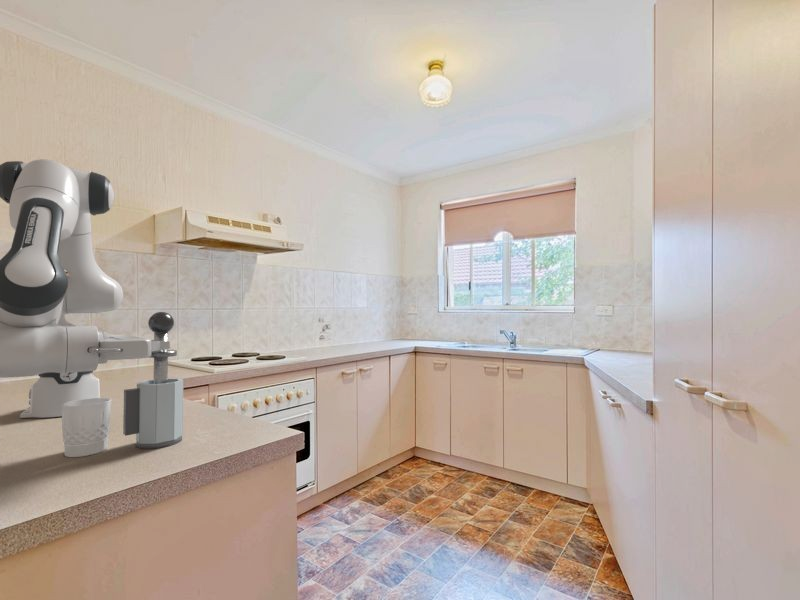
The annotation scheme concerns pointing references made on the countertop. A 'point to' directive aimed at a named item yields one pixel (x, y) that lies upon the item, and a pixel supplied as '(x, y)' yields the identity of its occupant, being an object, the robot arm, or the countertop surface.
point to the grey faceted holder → (154, 413)
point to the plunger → (161, 327)
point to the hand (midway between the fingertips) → (165, 344)
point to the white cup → (85, 426)
